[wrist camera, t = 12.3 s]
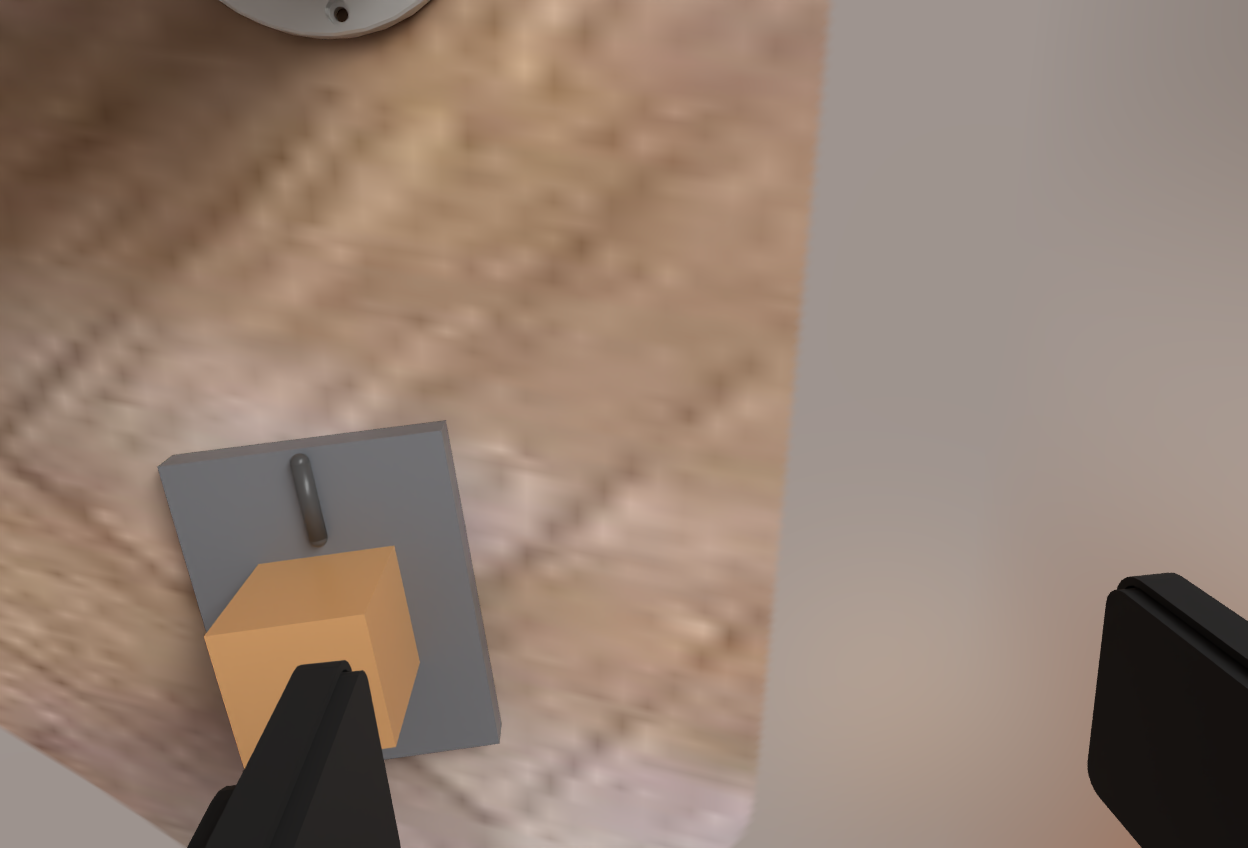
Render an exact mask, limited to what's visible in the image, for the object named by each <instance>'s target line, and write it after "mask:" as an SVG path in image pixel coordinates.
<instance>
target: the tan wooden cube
mask: <svg viewBox="0 0 1248 848" xmlns="http://www.w3.org/2000/svg"><path fill="white" fill-rule="evenodd" d="M204 639H205V642H206V645H207V649H208V652H209V655H210V658H211V662H212V665H213V668H214V672H215V675H216V678H217V681H218V685H219V688H220V691H221V695H222V698H223V701H224V704H225V708H226V711H227V714H228V718H229V721H230V724H231V727H232V731H233V734H234V737H235V741H236V744H237V747H238V750H239V754H240V757H241V760H242V764H243V767H244V769H245V767H246V765H247V763H248V761H249V759H250V757H251V755H252V753H253V751H254V749H255V747H256V745H257V743H258V741H259V739H260V737H261V735H262V733H263V731H264V729H265V727H266V725H267V723H268V721H269V719H270V717H271V715H272V713H273V711H274V709H275V707H276V705H277V703H278V701H279V699H280V697H281V695H282V693H283V691H284V689H285V687H286V685H287V683H288V681H289V679H290V677H291V675H292V673H293V671H294V670H295V669H296V667H297V666H299V665H303V664H312V663H322V662H331V661H341V660H346V661H347V662H349V664H350V666H351V669H352V671H361V670H363V671H365V673H366V675H367V678H368V681H369V686H370V691H371V696H372V702H373V707H374V712H375V717H376V722H377V727H378V732H379V738H380V743H381V748H382V749H386V748H393V747H396V745H397V741H398V738H399V734H400V731H401V727H402V724H403V720H404V717H405V713H406V710H407V706H408V703H409V699H410V696H411V692H412V689H413V685H414V681H415V678H416V674H417V671H418V667H419V664H420V660H419V656H418V651H417V647H416V642H415V637H414V633H413V628H412V624H411V619H410V615H409V610H408V606H407V601H406V596H405V592H404V587H403V583H402V578H401V574H400V569H399V564H398V560H397V555H396V551H395V546H387V547H380V548H373V549H365V550H358V551H351V552H344V553H336V554H329V555H322V556H314V557H307V558H300V559H292V560H285V561H278V562H270V563H263V564H258V565H257V567H256V568H255V569H254V571H253V572H252V573H251V575H250V576H249V577H248V579H247V580H246V581H245V583H244V584H243V585H242V587H241V588H240V589H239V591H238V592H237V593H236V595H235V596H234V597H233V599H232V600H231V601H230V603H229V604H228V605H227V607H226V608H225V609H224V610H223V612H222V613H221V614H220V616H219V617H218V618H217V620H216V621H215V622H214V624H213V625H212V626H211V628H210V629H209V630H208V632H207V633H206V634H205V636H204Z"/></svg>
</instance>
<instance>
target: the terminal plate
mask: <svg viewBox="0 0 1248 848" xmlns="http://www.w3.org/2000/svg"><path fill="white" fill-rule="evenodd" d="M158 471H159V474H160V477H161V481H162V484H163V488H164V491H165V494H166V498H167V501H168V504H169V508H170V511H171V515H172V518H173V521H174V525H175V528H176V531H177V535H178V538H179V542H180V545H181V548H182V552H183V555H184V558H185V562H186V565H187V569H188V572H189V575H190V579H191V582H192V585H193V589H194V592H195V596H196V599H197V602H198V606H199V609H200V612H201V616H202V619H203V623H204V626H205V629H206V633H207V632H208V630H209V629H210V628H211V626H212V625H213V624H214V622H215V621H216V620H217V618H218V617H219V616H220V614H221V613H222V612H223V610H224V609H225V608H226V607H227V605H228V604H229V603H230V601H231V600H232V599H233V597H234V596H235V595H236V593H237V592H238V591H239V589H240V588H241V587H242V585H243V584H244V583H245V581H246V580H247V579H248V577H249V576H250V575H251V573H252V572H253V571H254V569H255V568H256V567H257V565H258V564H263V563H270V562H278V561H285V560H292V559H300V558H307V557H314V556H322V555H329V554H336V553H344V552H351V551H358V550H365V549H373V548H380V547H387V546H395V551H396V555H397V560H398V564H399V569H400V574H401V578H402V583H403V587H404V592H405V596H406V601H407V606H408V610H409V615H410V619H411V624H412V628H413V633H414V637H415V642H416V647H417V651H418V656H419V660H420V664H419V667H418V671H417V674H416V678H415V681H414V685H413V689H412V692H411V696H410V699H409V703H408V706H407V710H406V713H405V717H404V720H403V724H402V727H401V731H400V734H399V738H398V741H397V745H396V747H393V748H386V749H382V753H383V758H384V760H385V759H392V758H399V757H407V756H414V755H421V754H428V753H435V752H442V751H449V750H456V749H464V748H471V747H478V746H485V745H492V744H499V743H500V734H501V725H502V724H501V718H500V713H499V707H498V702H497V696H496V691H495V685H494V680H493V675H492V669H491V664H490V658H489V653H488V647H487V642H486V637H485V631H484V626H483V620H482V615H481V609H480V604H479V598H478V593H477V588H476V582H475V577H474V571H473V566H472V560H471V555H470V549H469V544H468V539H467V533H466V528H465V522H464V517H463V511H462V506H461V500H460V495H459V490H458V484H457V479H456V473H455V468H454V462H453V457H452V452H451V446H450V441H449V435H448V430H447V424H446V420H445V421H437V422H429V423H422V424H414V425H406V426H398V427H390V428H382V429H374V430H366V431H359V432H351V433H343V434H335V435H327V436H319V437H311V438H304V439H296V440H288V441H280V442H272V443H264V444H256V445H249V446H241V447H233V448H225V449H217V450H209V451H201V452H194V453H186V454H178V455H172V456H171V457H170V458H168V459H167V460H166V461H164V462H163V463H162V464H160V465H159V466H158Z"/></svg>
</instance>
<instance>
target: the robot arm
mask: <svg viewBox="0 0 1248 848" xmlns="http://www.w3.org/2000/svg"><path fill="white" fill-rule="evenodd" d="M219 1H221V2H222V3H224V4H225V5H227V6H228V7H230V8H231V9H232V10H234V11H235V12H237V13H239V14H241V15H243V16H245V17H247V18H249V19H251V20H253V21H255V22H257V23H259V24H262V25H265V26H268V27H270V28H273V29H276V30H279V31H282V32H285V33H288V34H291V35H297V36H304V37H311V38H318V39H339V38H355V37H359V36H363V35H366V34H370V33H374V32H377V31H381V30H384V29H387V28H389V27H391V26H393V25H394V24H396V23H398V22H400V21H402V20H404V19H406V18H408V17H410V16H412V15H413V14H415V13H416V12H417V11H418V10H419V9H421V8H422V7H423V6H424V5H425V4H427V3H428V2H429V1H430V0H219ZM342 8H343V9H346V10H347V12H348V18H347V20H346V21H344V22H339V21H338V19H337V12H338V11H339V10H340V9H342ZM1088 774H1089V778H1090V781H1091V784H1092V786H1093V788H1094V790H1095V792H1096V793H1097V795H1098V796H1099V797H1100V799H1101V800H1102V801H1103V802H1104V803H1105V805H1106V806H1107V807H1108V808H1109V809H1110V811H1111V812H1112V813H1113V814H1114V815H1115V816H1116V818H1117V819H1118V820H1119V821H1120V822H1121V823H1122V825H1123V826H1124V827H1125V828H1126V830H1127V831H1128V832H1129V833H1130V834H1131V836H1132V837H1133V838H1134V839H1135V840H1136V841H1137V843H1138V844H1139V845H1140V846H1141V847H1142V848H1248V621H1247V620H1245V619H1244V618H1242V617H1241V616H1239V615H1238V614H1236V613H1235V612H1233V611H1232V610H1230V609H1229V608H1227V607H1226V606H1225V605H1223V604H1222V603H1220V602H1219V601H1217V600H1216V599H1214V598H1212V597H1211V596H1210V595H1208V594H1207V593H1205V592H1204V591H1202V590H1201V589H1200V588H1198V587H1196V586H1195V585H1194V584H1192V583H1191V582H1189V581H1188V580H1186V579H1185V578H1183V577H1182V576H1180V575H1178V574H1175V573H1161V574H1152V575H1142V576H1132V577H1127V578H1125V579H1123V580H1121V582H1120V583H1119V585H1118V587H1117V590H1114V591H1112V592H1110V594H1109V595H1108V597H1107V601H1106V609H1105V617H1104V625H1103V634H1102V642H1101V651H1100V660H1099V668H1098V677H1097V685H1096V694H1095V703H1094V711H1093V720H1092V728H1091V737H1090V746H1089V754H1088ZM187 848H401V847H400V840H399V835H398V830H397V825H396V820H395V815H394V809H393V804H392V799H391V794H390V789H389V784H388V779H387V774H386V768H385V763H384V758H383V753H382V748H381V743H380V738H379V732H378V727H377V722H376V717H375V712H374V707H373V702H372V696H371V691H370V686H369V681H368V678H367V675H366V673H365V671H363V670H361V671H352V669H351V666H350V664H349V662H347V661H346V660H341V661H331V662H322V663H312V664H303V665H299V666H297V667H296V669H295V670H294V671H293V673H292V675H291V677H290V679H289V681H288V683H287V685H286V687H285V689H284V691H283V693H282V695H281V697H280V699H279V701H278V703H277V705H276V707H275V709H274V711H273V713H272V715H271V717H270V719H269V721H268V723H267V725H266V727H265V729H264V731H263V733H262V735H261V737H260V739H259V741H258V743H257V745H256V747H255V749H254V751H253V753H252V755H251V757H250V759H249V761H248V763H247V765H246V767H245V769H244V771H243V773H242V775H241V777H240V779H239V781H238V783H237V785H233V786H226V787H224V788H223V789H221V790H219V791H218V793H217V794H216V796H215V797H214V798H213V800H212V801H211V803H210V805H209V807H208V809H207V811H206V813H205V815H204V816H203V818H202V820H201V822H200V824H199V826H198V828H197V830H196V832H195V833H194V835H193V837H192V839H191V841H190V843H189V845H188V847H187Z"/></svg>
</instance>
